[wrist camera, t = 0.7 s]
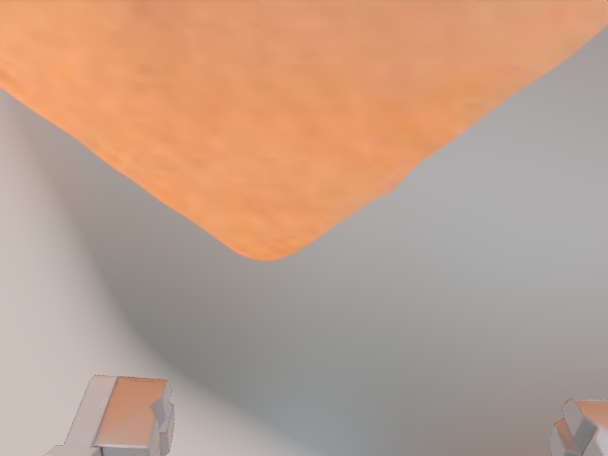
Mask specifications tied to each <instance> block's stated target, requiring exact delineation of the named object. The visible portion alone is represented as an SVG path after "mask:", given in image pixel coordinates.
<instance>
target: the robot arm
mask: <svg viewBox="0 0 608 456" xmlns="http://www.w3.org/2000/svg"><path fill="white" fill-rule="evenodd" d="M171 392H172V389H171V383H170V380H163V379H149V378H136V377H123V376H105V375H94V377H93V378H92V379H91V380H90V382H89V384H88V386H87V389H86V391H85V393H84V396H83V399H82V401H81V403H80V406H79V408H78V411H77V413H76V416H75V418H74V421H73V423H72V426H71V428H70V431H69V433H68V435H67V438H66V441H65V443H64V445H59V446H58V445H56V446H55V447H53V448H52V449H51V450H50V451H48V452H47V453H46V454H45V455H44V456H166V455H167V454H168V453H169V451H170V447H171V442H172V437H173V429H174V406H173V404H171V403H170V402H169V401H170V397H171ZM562 412H563V415H564V418H563V419H561V420H559V421H558V422H556V423H555V424H554V426H553V429H552V431H551V433H550V452H551V456H608V400H603V399H573V398H571V399H569V400H567V401H566V402H565V403H564V406H563V407H562Z"/></svg>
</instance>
